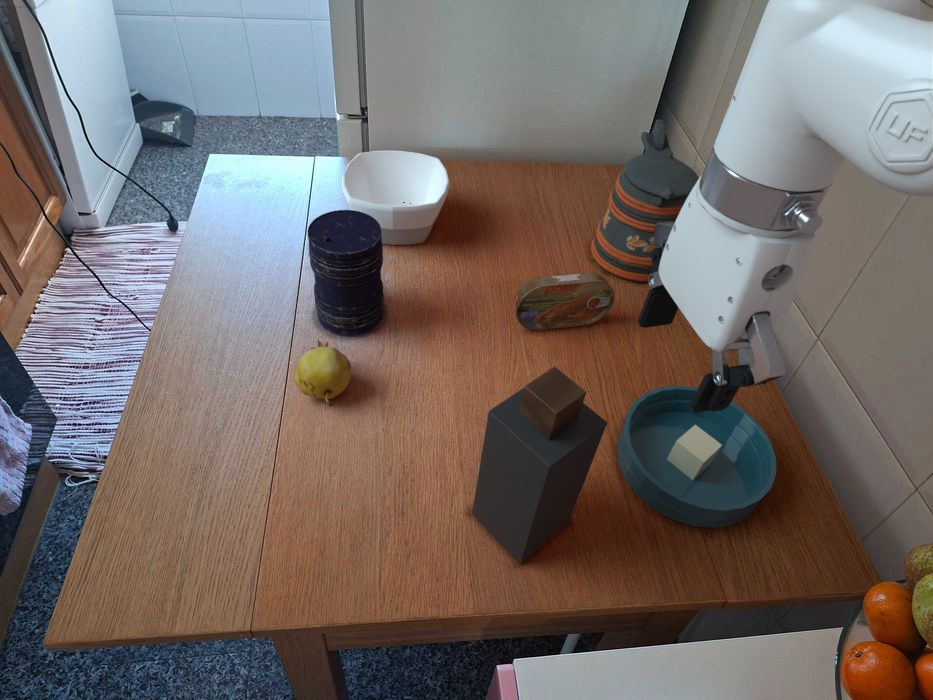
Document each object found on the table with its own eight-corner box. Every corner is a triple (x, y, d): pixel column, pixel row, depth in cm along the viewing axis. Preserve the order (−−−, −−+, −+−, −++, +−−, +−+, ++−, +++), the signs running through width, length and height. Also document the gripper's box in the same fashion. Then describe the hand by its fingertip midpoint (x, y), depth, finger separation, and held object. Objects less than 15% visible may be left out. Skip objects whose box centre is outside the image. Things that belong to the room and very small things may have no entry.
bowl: (447, 199, 119) (450, 152, 112) (446, 259, 106) (450, 211, 100) (350, 193, 118) (347, 146, 111) (338, 253, 105) (334, 204, 99)
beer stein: (582, 214, 119) (608, 109, 104) (660, 219, 119) (696, 116, 105) (596, 280, 106) (627, 171, 91) (684, 286, 106) (728, 179, 92)
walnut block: (578, 419, 61) (586, 392, 58) (549, 440, 59) (556, 413, 56) (547, 393, 63) (554, 365, 60) (518, 413, 61) (524, 386, 58)
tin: (513, 333, 96) (521, 289, 90) (508, 318, 98) (515, 275, 92) (608, 324, 99) (621, 281, 92) (601, 310, 101) (614, 268, 95)
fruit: (357, 386, 79) (352, 328, 85) (300, 382, 76) (298, 323, 83) (346, 420, 83) (342, 363, 90) (291, 418, 81) (291, 359, 87)
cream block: (711, 463, 81) (722, 445, 78) (692, 480, 79) (704, 462, 76) (685, 443, 83) (695, 424, 80) (666, 459, 81) (676, 440, 78)
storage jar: (352, 283, 101) (347, 200, 90) (398, 313, 97) (398, 231, 86) (302, 314, 95) (290, 230, 84) (348, 347, 91) (342, 264, 80)
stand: (569, 522, 74) (607, 422, 61) (520, 564, 70) (549, 467, 57) (520, 476, 78) (546, 372, 65) (471, 513, 74) (488, 410, 61)
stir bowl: (788, 473, 82) (804, 452, 78) (707, 559, 73) (722, 540, 69) (671, 386, 91) (681, 365, 87) (586, 454, 81) (594, 432, 78)
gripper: (899, 262, 37) (775, 438, 50) (741, 120, 49) (672, 291, 61) (788, 275, 36) (688, 454, 48) (651, 125, 47) (599, 300, 59)
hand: (679, 363), depth 54 cm, fingers open, 9 cm apart
